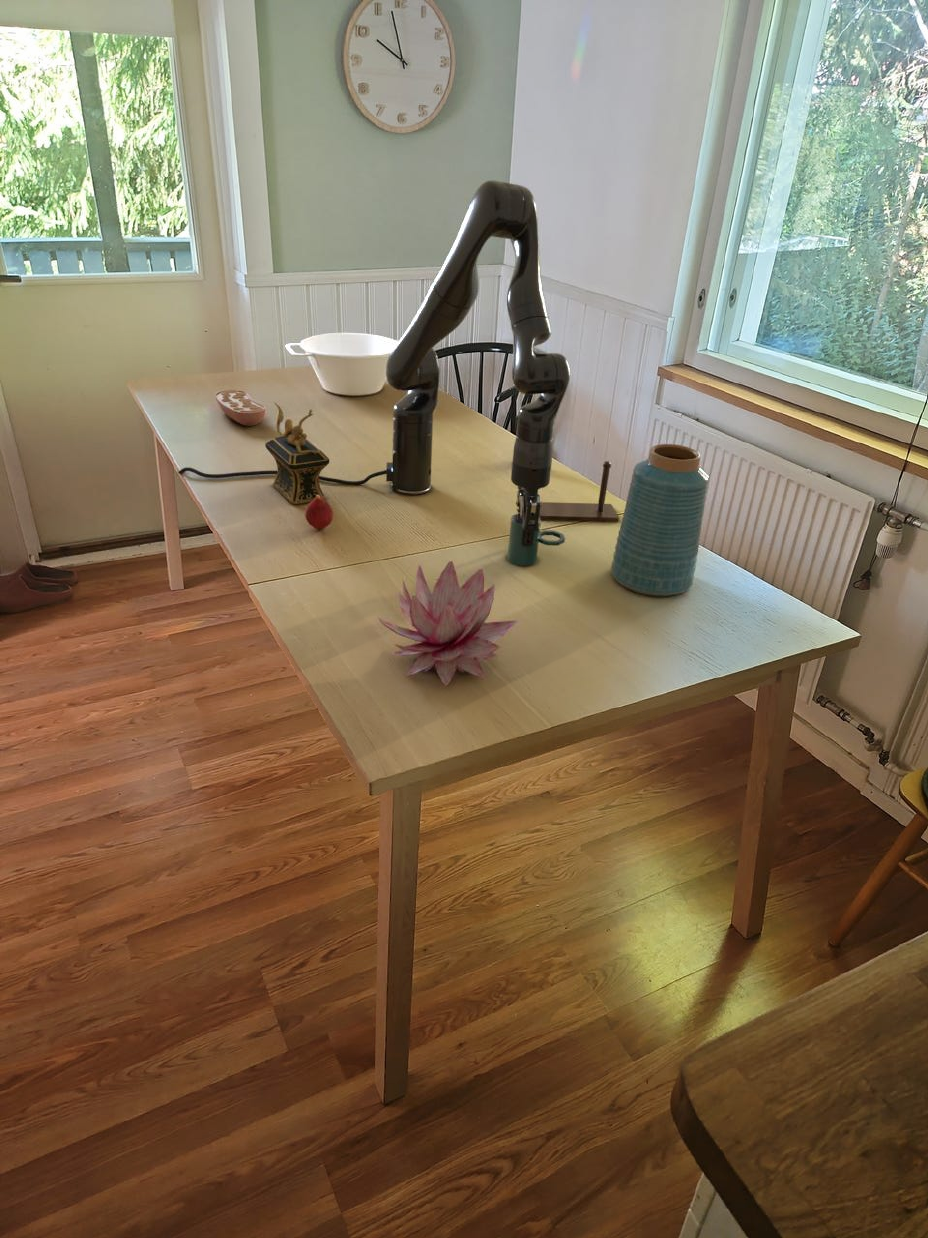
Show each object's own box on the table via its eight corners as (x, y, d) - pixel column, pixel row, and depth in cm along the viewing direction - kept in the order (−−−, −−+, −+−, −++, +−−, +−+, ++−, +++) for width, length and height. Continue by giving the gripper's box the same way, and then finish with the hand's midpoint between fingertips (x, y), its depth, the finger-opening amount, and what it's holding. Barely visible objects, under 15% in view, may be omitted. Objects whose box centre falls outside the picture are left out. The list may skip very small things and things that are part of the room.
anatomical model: (271, 427, 234) (270, 410, 231) (236, 432, 229) (234, 414, 226) (242, 405, 250) (241, 388, 247) (209, 408, 245) (208, 391, 243)
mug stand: (540, 519, 190) (546, 465, 184) (535, 505, 197) (541, 453, 190) (618, 521, 192) (627, 468, 185) (610, 507, 199) (618, 455, 192)
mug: (509, 565, 170) (513, 524, 165) (505, 552, 175) (509, 512, 170) (563, 566, 171) (569, 526, 166) (558, 553, 176) (563, 513, 171)
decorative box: (332, 501, 192) (330, 417, 182) (292, 508, 187) (288, 422, 177) (299, 472, 206) (296, 392, 196) (261, 478, 202) (256, 396, 192)
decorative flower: (405, 618, 149) (408, 541, 142) (522, 642, 145) (530, 564, 137) (358, 682, 132) (358, 599, 124) (489, 712, 127) (497, 628, 119)
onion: (338, 527, 180) (337, 492, 176) (325, 537, 176) (324, 502, 172) (313, 522, 182) (312, 487, 178) (301, 532, 177) (299, 497, 173)
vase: (675, 608, 158) (704, 474, 145) (596, 582, 165) (617, 453, 152) (702, 576, 170) (732, 450, 157) (628, 554, 177) (649, 431, 164)
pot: (301, 406, 252) (299, 358, 245) (280, 378, 277) (278, 333, 270) (427, 399, 266) (428, 353, 258) (396, 372, 291) (397, 330, 284)
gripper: (508, 446, 167) (501, 522, 176) (517, 472, 155) (510, 553, 163) (545, 447, 168) (537, 523, 176) (557, 473, 156) (548, 554, 164)
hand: (524, 537), depth 170 cm, fingers open, 6 cm apart
